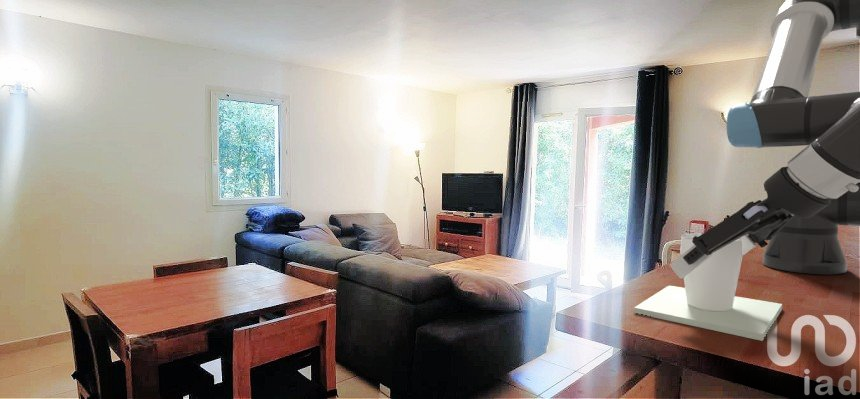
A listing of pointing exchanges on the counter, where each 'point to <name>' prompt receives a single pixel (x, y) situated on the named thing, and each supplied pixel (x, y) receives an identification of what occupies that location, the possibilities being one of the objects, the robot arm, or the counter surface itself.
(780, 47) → the robot arm
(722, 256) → the cup
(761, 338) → the sage board
